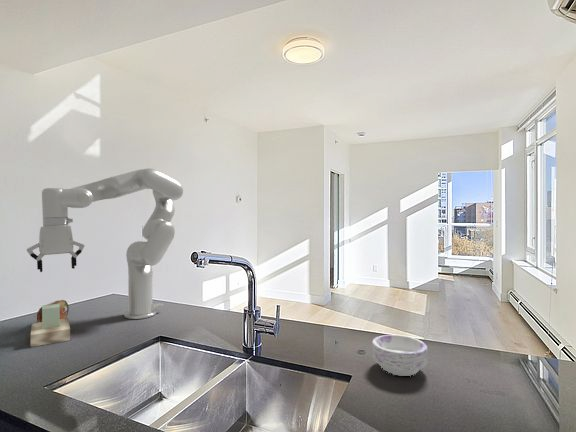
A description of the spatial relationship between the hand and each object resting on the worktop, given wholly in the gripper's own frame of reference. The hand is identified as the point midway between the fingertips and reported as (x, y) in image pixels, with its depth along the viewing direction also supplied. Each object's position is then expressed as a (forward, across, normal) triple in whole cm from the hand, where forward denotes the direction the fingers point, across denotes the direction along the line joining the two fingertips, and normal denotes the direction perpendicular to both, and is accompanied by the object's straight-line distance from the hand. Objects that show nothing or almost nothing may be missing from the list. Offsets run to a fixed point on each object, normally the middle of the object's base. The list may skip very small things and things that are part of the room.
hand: (57, 269), depth 125 cm
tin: (+24, +2, -14) cm, 28 cm away
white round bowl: (+25, -77, +89) cm, 121 cm away
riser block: (+23, +3, +3) cm, 24 cm away
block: (+19, +3, +3) cm, 20 cm away
